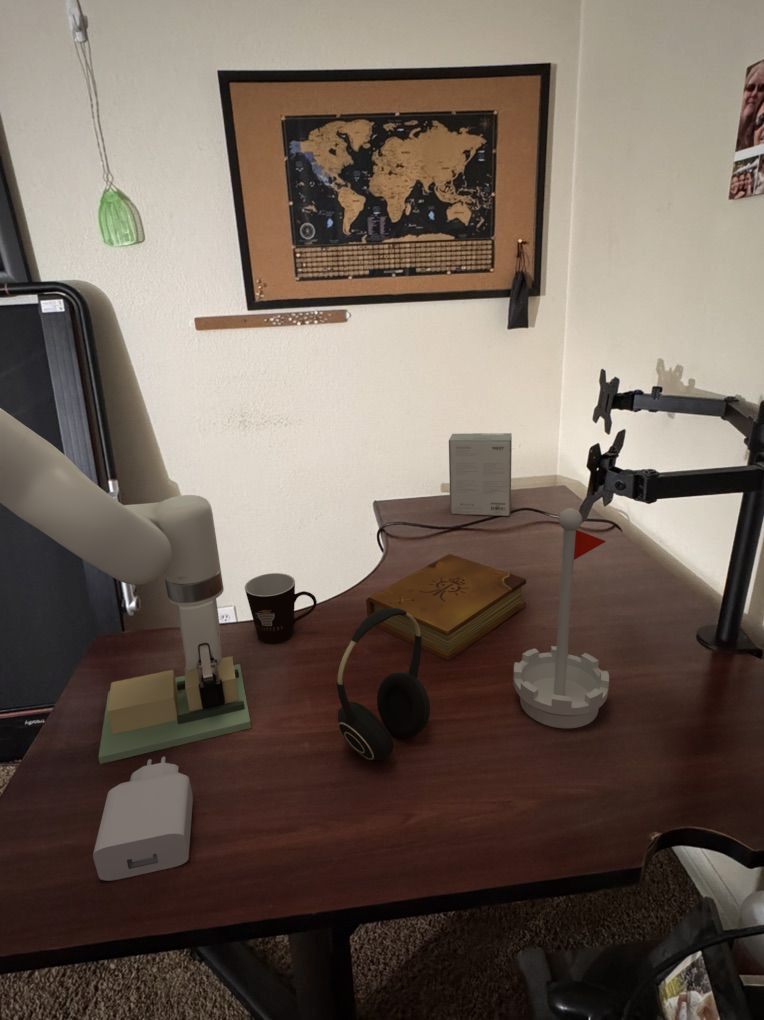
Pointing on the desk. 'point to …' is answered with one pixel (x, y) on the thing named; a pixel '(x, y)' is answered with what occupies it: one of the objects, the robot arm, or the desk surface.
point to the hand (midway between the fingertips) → (212, 691)
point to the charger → (145, 823)
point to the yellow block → (225, 674)
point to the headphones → (384, 700)
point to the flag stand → (563, 654)
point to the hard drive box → (480, 473)
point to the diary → (449, 604)
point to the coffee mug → (274, 606)
